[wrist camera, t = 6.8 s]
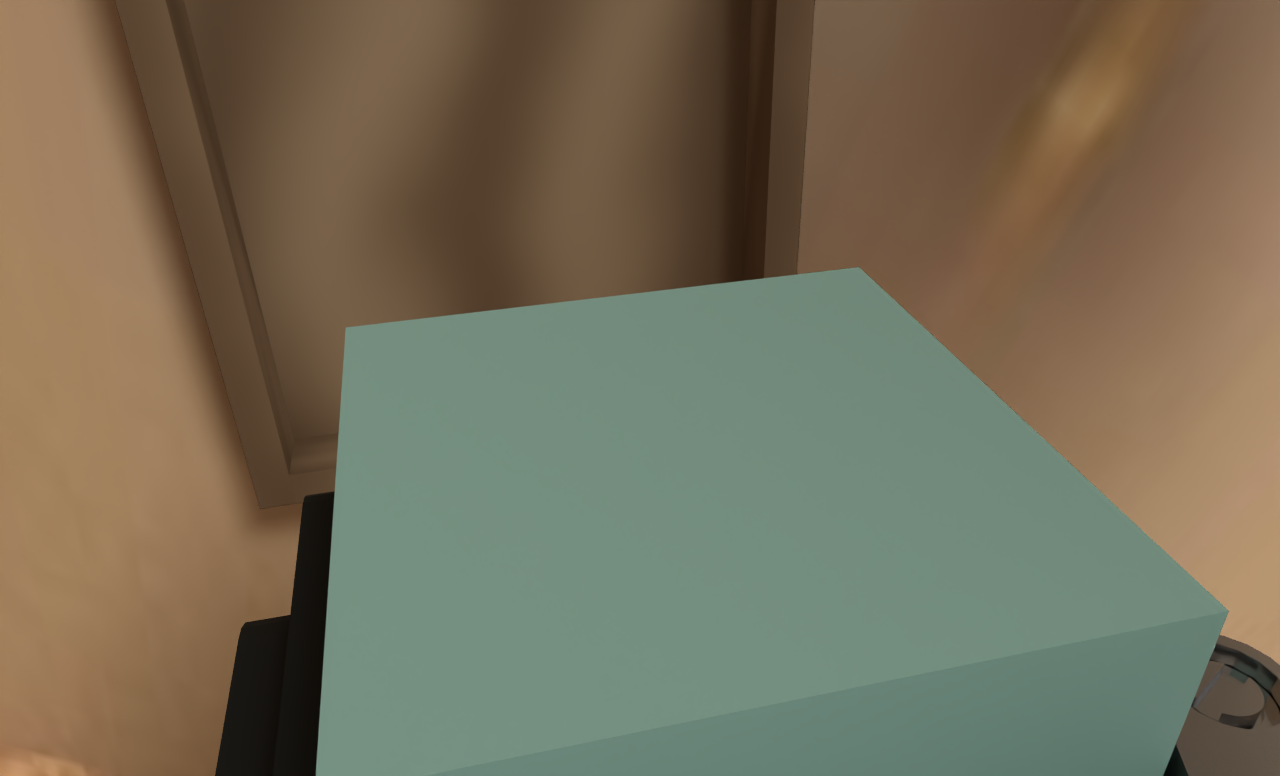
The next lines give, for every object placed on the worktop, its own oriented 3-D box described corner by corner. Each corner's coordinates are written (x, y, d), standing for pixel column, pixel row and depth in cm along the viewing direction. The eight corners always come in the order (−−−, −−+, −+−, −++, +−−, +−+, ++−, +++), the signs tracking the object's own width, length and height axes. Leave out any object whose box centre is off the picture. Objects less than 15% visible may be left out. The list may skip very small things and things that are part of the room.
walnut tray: (790, -244, 23) (831, -251, 21) (760, 389, 33) (786, 428, 30) (81, -232, 20) (46, -238, 18) (268, 460, 30) (260, 509, 28)
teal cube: (859, 267, 12) (1229, 611, 7) (820, 630, 15) (1051, 1054, 10) (345, 328, 10) (315, 797, 5) (421, 707, 14) (445, 1233, 8)
